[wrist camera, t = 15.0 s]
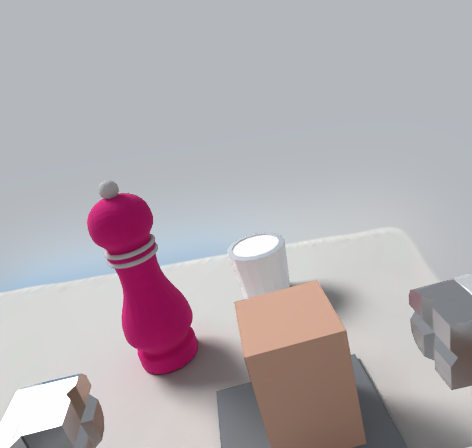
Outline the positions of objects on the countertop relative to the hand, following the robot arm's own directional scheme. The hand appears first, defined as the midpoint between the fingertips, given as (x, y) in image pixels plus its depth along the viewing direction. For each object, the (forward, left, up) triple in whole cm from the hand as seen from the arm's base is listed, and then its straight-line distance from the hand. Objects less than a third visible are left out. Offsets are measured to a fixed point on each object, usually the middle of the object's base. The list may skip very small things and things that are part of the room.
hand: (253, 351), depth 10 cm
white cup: (-24, +27, -21) cm, 42 cm away
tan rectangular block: (-10, +13, -21) cm, 26 cm away
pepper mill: (-28, +14, -21) cm, 38 cm away
